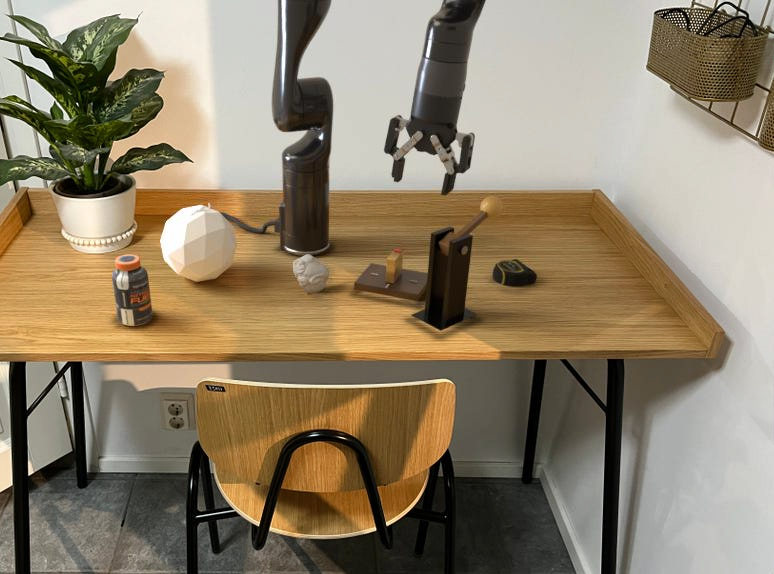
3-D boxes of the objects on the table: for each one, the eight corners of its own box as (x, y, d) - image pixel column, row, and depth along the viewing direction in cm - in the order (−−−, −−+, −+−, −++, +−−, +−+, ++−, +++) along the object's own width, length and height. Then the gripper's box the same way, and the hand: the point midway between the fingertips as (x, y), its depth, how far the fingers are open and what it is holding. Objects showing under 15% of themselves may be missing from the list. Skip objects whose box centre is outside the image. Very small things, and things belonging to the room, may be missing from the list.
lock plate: (353, 294, 140) (354, 281, 138) (370, 275, 147) (371, 262, 145) (417, 307, 136) (418, 293, 134) (431, 285, 143) (432, 272, 141)
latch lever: (491, 206, 129) (488, 189, 127) (508, 212, 127) (505, 195, 124) (439, 254, 126) (434, 238, 124) (455, 261, 124) (451, 245, 121)
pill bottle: (136, 330, 130) (127, 269, 124) (110, 321, 132) (100, 261, 126) (160, 315, 134) (152, 255, 128) (134, 307, 137) (126, 248, 131)
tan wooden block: (393, 283, 138) (395, 259, 135) (385, 282, 138) (386, 257, 136) (402, 273, 141) (403, 249, 139) (393, 272, 142) (395, 247, 139)
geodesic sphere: (186, 222, 154) (162, 181, 141) (254, 229, 151) (235, 187, 138) (166, 289, 150) (139, 252, 136) (236, 297, 146) (215, 261, 133)
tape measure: (536, 289, 141) (539, 270, 139) (503, 295, 139) (506, 276, 137) (516, 274, 146) (519, 256, 144) (484, 279, 145) (487, 261, 143)
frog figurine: (301, 281, 145) (301, 247, 141) (335, 289, 142) (336, 254, 138) (287, 295, 140) (286, 260, 136) (321, 303, 137) (321, 267, 134)
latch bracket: (446, 305, 136) (454, 221, 128) (476, 320, 131) (487, 233, 123) (410, 320, 131) (416, 234, 123) (440, 337, 127) (448, 248, 118)
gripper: (387, 82, 119) (373, 183, 128) (475, 102, 114) (453, 205, 123) (406, 74, 125) (391, 171, 134) (490, 93, 120) (468, 192, 129)
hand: (421, 187), depth 128 cm, fingers open, 8 cm apart
